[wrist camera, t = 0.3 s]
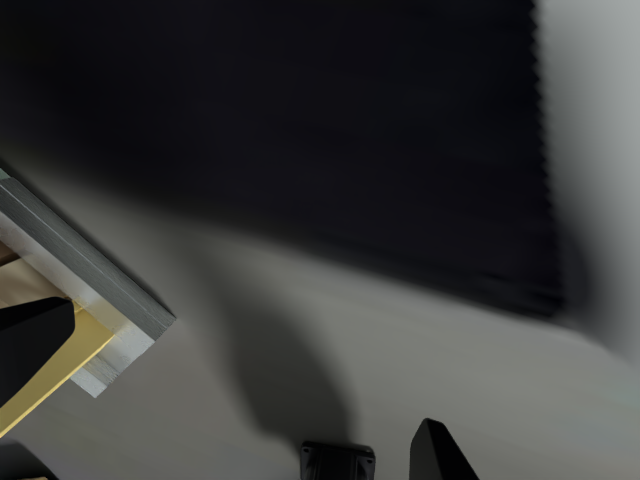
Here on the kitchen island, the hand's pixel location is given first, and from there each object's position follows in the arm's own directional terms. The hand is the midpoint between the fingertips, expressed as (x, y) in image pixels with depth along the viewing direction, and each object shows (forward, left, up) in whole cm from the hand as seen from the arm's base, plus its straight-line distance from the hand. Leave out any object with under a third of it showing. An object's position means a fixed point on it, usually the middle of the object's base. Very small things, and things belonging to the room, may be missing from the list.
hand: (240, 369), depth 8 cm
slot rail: (-8, +21, -14) cm, 26 cm away
